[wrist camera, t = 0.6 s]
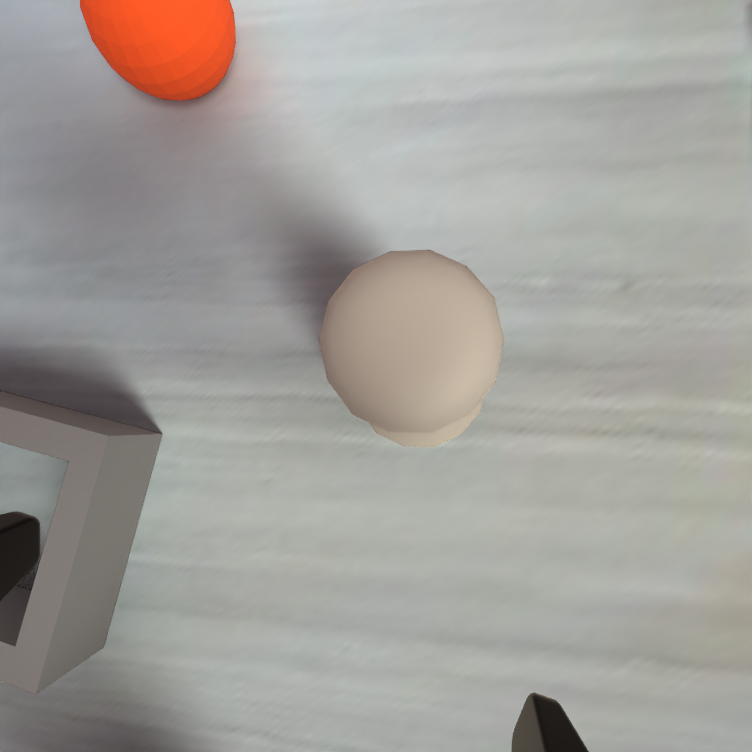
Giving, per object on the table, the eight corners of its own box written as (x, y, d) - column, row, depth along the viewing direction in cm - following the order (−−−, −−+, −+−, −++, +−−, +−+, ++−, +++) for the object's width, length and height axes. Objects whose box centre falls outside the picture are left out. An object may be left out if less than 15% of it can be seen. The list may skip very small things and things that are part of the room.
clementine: (214, -19, 26) (135, -181, 19) (294, 51, 25) (242, -94, 18) (117, 79, 26) (4, -46, 19) (193, 154, 25) (103, 49, 18)
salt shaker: (464, 458, 22) (515, 506, 9) (350, 429, 23) (246, 437, 10) (490, 340, 22) (574, 227, 9) (377, 316, 23) (313, 182, 10)
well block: (103, 647, 23) (35, 694, 19) (-78, 585, 24) (-176, 616, 20) (162, 433, 24) (108, 435, 20) (-17, 386, 25) (-99, 379, 21)
